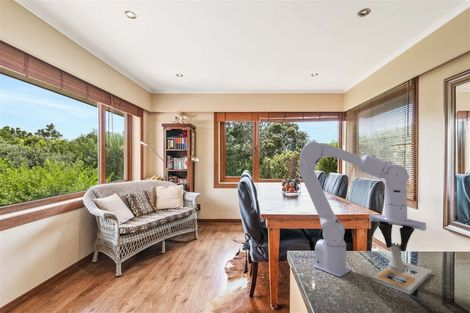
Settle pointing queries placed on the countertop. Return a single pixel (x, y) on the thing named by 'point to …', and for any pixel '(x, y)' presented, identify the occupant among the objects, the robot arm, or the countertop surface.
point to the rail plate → (403, 278)
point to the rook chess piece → (396, 259)
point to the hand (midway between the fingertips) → (396, 248)
